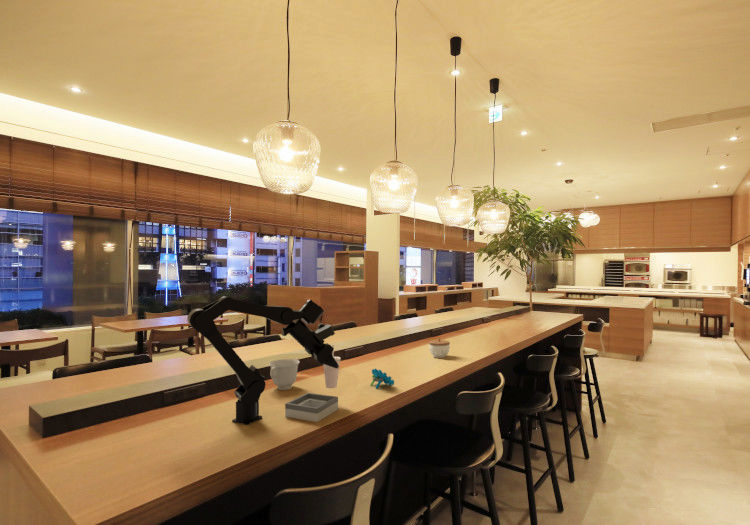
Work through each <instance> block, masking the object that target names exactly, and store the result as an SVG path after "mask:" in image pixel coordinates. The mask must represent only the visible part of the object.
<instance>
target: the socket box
mask: <svg viewBox="0 0 750 525" xmlns="http://www.w3.org/2000/svg"><path fill="white" fill-rule="evenodd" d="M284 406H285V407H284V408H285V410H284V411H285V415H284V416H285V418H292V419H297V420H298V419H299V420H303V421H307V422H308V421H309V422H314V423H318V422H320V421H322V420H323V419H325V418H326V417H328V416H330V415H331V414H333V413H335V412H336V411H338V410H339V397H338V396H335V395H334V396H333V395H327V394H319V393H313V392H307V393H304V394H302V395H300V396H299V397H296V398H294V399H292V400H289V401H287V402H285V403H284Z"/></svg>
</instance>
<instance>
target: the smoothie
mask: <svg viewBox="0 0 750 525" xmlns="http://www.w3.org/2000/svg"><path fill="white" fill-rule="evenodd" d="M331 346H332V347H333V348H334V347H335V345H331ZM334 349H335V348H334ZM334 351H335V350H333V351H332V356H333V357H334V359H335V360H336V362H337V364H338V365H339V367H338V368H337V369H336V368H334V367H331V366H328V365H325V364H322V365H323V373H324V374H323V375H324V381H325V388H327V389H335V388H337V387H338V379H339V372H340V364H341V363H340V362H341V360H342V359H341V357H340V356H335V352H334Z"/></svg>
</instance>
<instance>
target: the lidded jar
mask: <svg viewBox="0 0 750 525" xmlns="http://www.w3.org/2000/svg"><path fill="white" fill-rule="evenodd" d="M450 344H451V342H450V341H449V340H446V339H444V340H443V339H441V338H437V339H432V340H430V341H428V346H429V352H430V354H431V355H432V356H433V357H434V358H437V359H441V358H446V357H447V355H448V354H449V353H450Z"/></svg>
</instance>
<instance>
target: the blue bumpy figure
mask: <svg viewBox="0 0 750 525" xmlns="http://www.w3.org/2000/svg"><path fill="white" fill-rule="evenodd" d="M371 374H372V376H371V377H372V382H371V384H370V386H373V385H374V383H375V382H377V383H376V385H375V388H376V389H377V388H379V387H380V385H381V384H382V383H384V384H385V385H387V384H388V386H390V385H391V386H394V384H395V380H394V379H392V377H391V376H390V375H388V374H387V373H386V372H383V371H382V370H381V369H377V368H372V370H371Z"/></svg>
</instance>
